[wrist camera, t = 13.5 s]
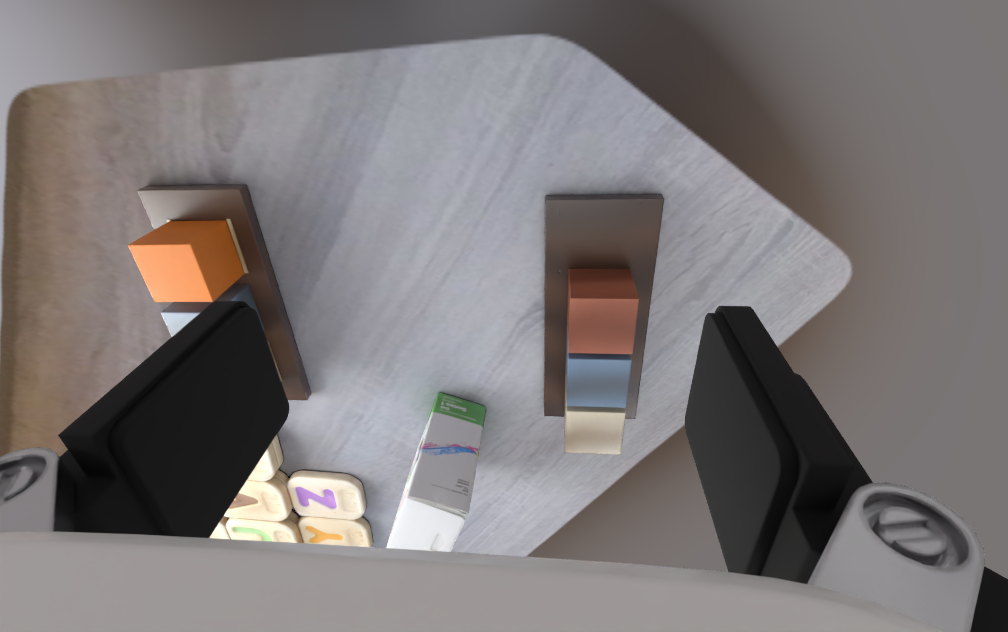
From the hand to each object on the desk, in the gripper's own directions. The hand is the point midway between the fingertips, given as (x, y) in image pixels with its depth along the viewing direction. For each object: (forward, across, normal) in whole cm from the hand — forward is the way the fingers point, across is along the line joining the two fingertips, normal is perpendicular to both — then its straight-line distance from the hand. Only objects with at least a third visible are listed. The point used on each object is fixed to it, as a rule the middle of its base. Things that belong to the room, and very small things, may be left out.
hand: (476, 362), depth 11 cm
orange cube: (+25, +25, +9) cm, 37 cm away
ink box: (+26, +8, +28) cm, 39 cm away
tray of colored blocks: (+26, +25, +14) cm, 39 cm away
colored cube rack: (+26, -5, +15) cm, 31 cm away
